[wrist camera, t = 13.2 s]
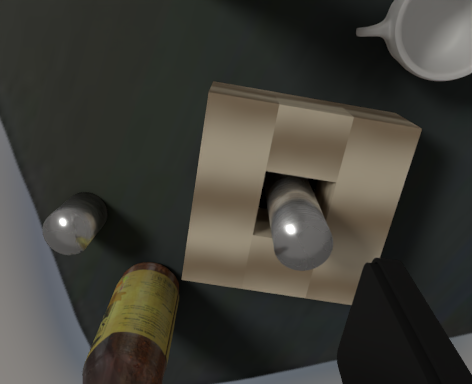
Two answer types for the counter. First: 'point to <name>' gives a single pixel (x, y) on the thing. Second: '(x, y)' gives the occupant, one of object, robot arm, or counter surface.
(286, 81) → the counter surface
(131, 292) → the sauce bottle
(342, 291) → the hole block
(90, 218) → the short pin
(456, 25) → the teacup
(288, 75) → the counter surface
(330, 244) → the long pin
